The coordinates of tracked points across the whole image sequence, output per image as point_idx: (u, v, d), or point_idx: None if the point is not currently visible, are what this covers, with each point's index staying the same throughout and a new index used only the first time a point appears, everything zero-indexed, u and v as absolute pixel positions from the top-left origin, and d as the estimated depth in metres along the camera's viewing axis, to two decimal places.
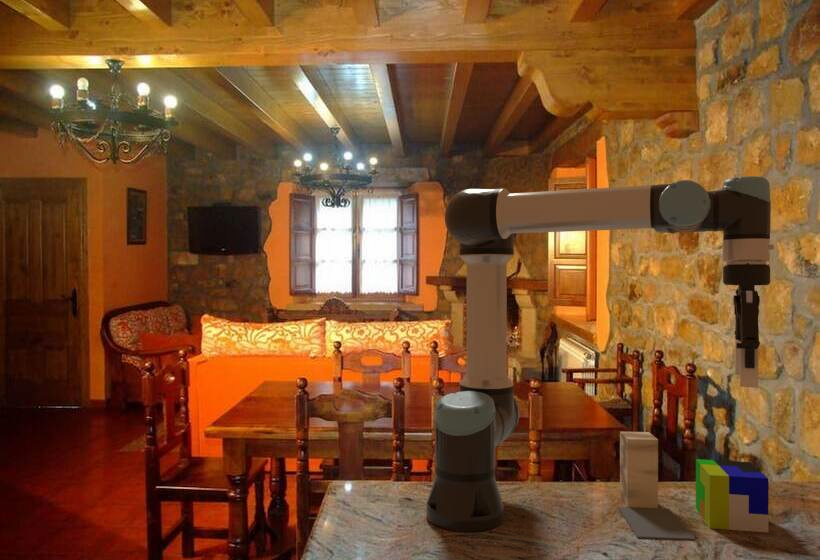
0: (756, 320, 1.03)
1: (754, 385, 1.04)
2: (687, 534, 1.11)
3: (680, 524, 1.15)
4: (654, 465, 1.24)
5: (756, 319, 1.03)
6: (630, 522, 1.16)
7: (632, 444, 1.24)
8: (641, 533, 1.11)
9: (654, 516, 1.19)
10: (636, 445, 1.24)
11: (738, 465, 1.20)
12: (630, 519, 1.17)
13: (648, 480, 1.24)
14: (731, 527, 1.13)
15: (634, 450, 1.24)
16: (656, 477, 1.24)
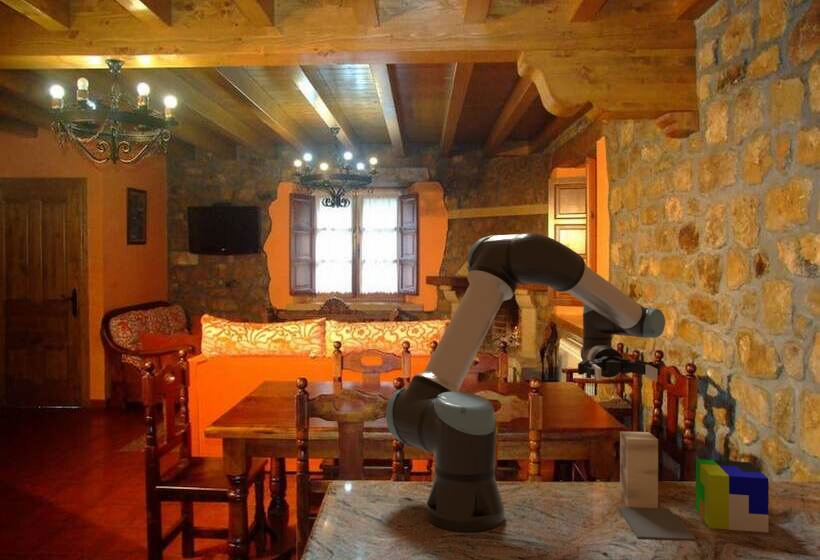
0: None
1: (657, 378, 1.35)
2: (687, 534, 1.11)
3: (680, 524, 1.15)
4: (654, 465, 1.24)
5: None
6: (630, 522, 1.16)
7: (632, 444, 1.24)
8: (641, 533, 1.11)
9: (654, 516, 1.19)
10: (636, 445, 1.24)
11: (738, 465, 1.20)
12: (630, 519, 1.17)
13: (648, 480, 1.24)
14: (731, 527, 1.13)
15: (634, 450, 1.24)
16: (656, 477, 1.24)
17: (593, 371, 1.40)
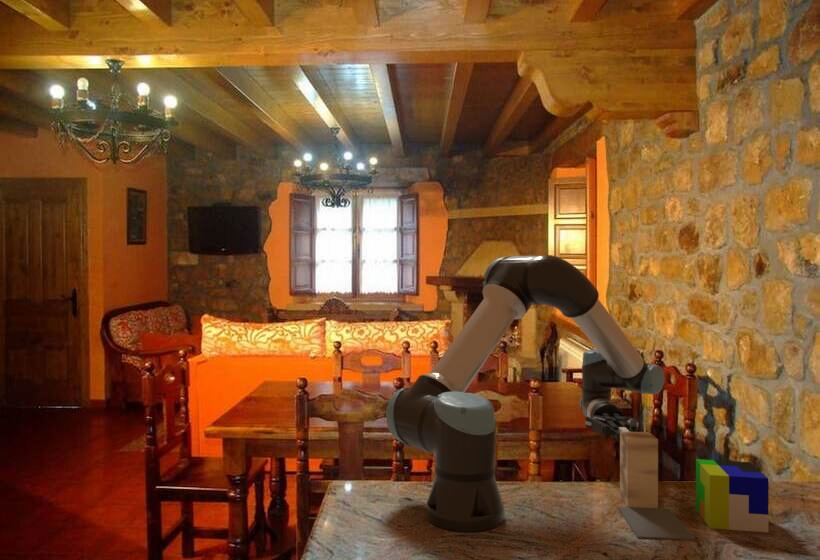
0: None
1: None
2: (687, 534, 1.11)
3: (680, 524, 1.15)
4: (654, 465, 1.24)
5: None
6: (630, 522, 1.16)
7: (632, 444, 1.24)
8: (641, 533, 1.11)
9: (654, 516, 1.19)
10: (636, 445, 1.24)
11: (738, 465, 1.20)
12: (630, 519, 1.17)
13: (648, 480, 1.24)
14: (731, 527, 1.13)
15: (634, 450, 1.24)
16: (656, 477, 1.24)
17: None
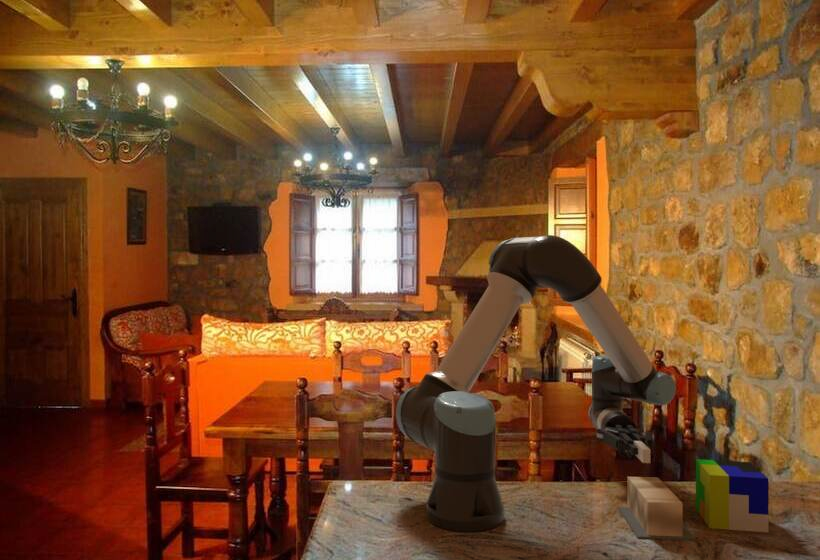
0: None
1: (649, 460, 1.23)
2: (687, 534, 1.11)
3: None
4: None
5: None
6: (630, 522, 1.16)
7: None
8: (641, 533, 1.11)
9: None
10: None
11: (738, 465, 1.20)
12: (630, 519, 1.17)
13: None
14: (731, 527, 1.13)
15: None
16: None
17: (636, 450, 1.26)
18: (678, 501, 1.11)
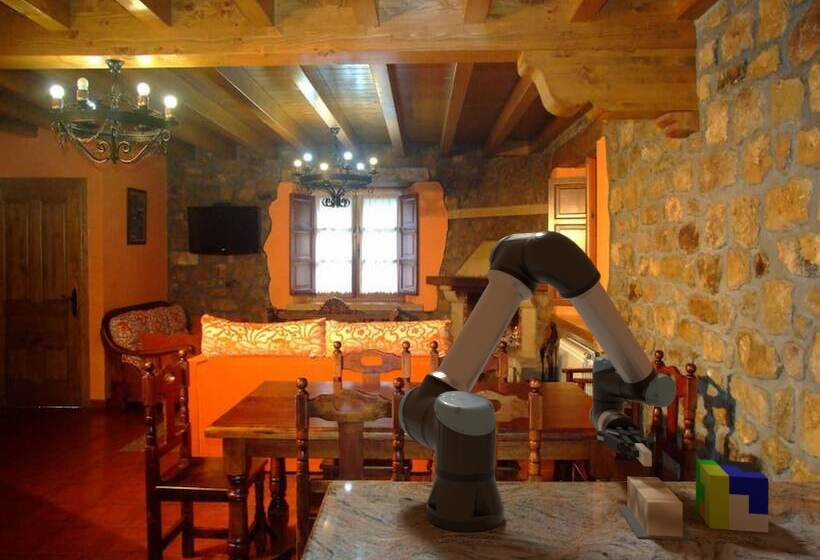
0: None
1: (651, 463, 1.20)
2: (687, 534, 1.11)
3: None
4: None
5: None
6: (630, 522, 1.16)
7: None
8: (641, 533, 1.11)
9: None
10: None
11: (738, 465, 1.20)
12: (630, 519, 1.17)
13: None
14: (731, 527, 1.13)
15: None
16: None
17: (637, 453, 1.24)
18: (678, 501, 1.11)
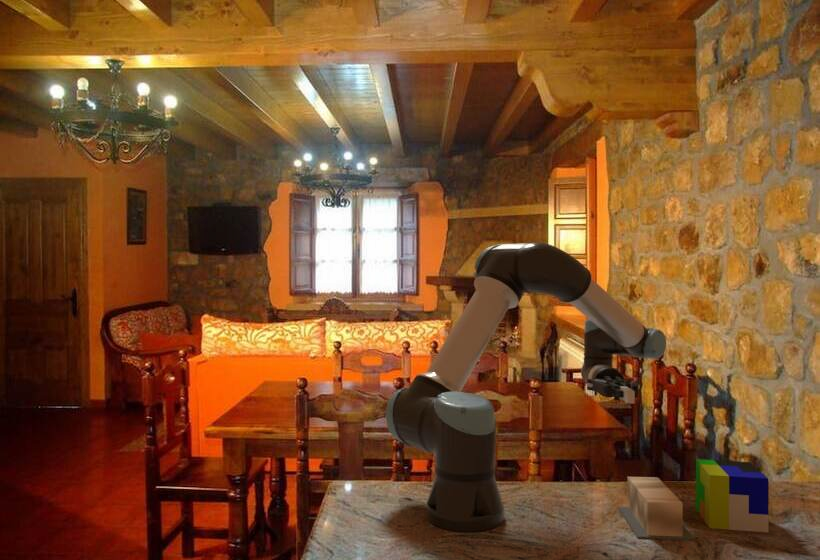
0: None
1: None
2: (687, 534, 1.11)
3: None
4: None
5: None
6: (630, 522, 1.16)
7: None
8: (641, 533, 1.11)
9: None
10: None
11: (738, 465, 1.20)
12: (630, 519, 1.17)
13: None
14: (731, 527, 1.13)
15: None
16: None
17: (622, 393, 1.38)
18: (678, 501, 1.11)
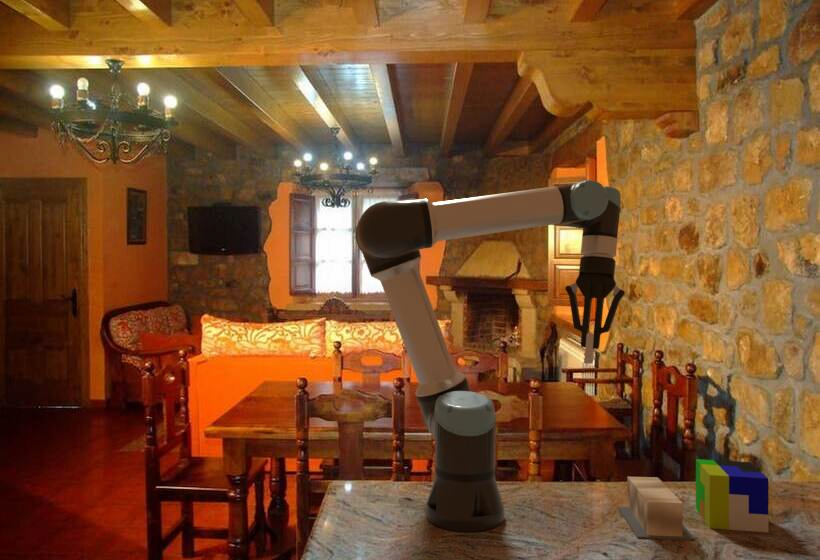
0: None
1: (592, 361, 1.35)
2: (687, 534, 1.11)
3: None
4: None
5: None
6: (630, 522, 1.16)
7: None
8: (641, 533, 1.11)
9: None
10: None
11: (738, 465, 1.20)
12: (630, 519, 1.17)
13: None
14: (731, 527, 1.13)
15: None
16: None
17: (585, 347, 1.35)
18: (678, 501, 1.11)
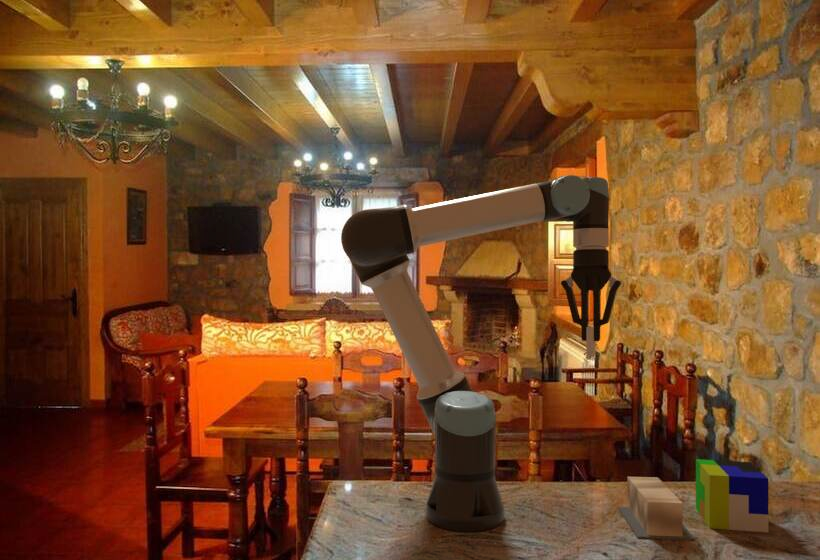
0: None
1: (594, 354, 1.35)
2: (687, 534, 1.11)
3: None
4: None
5: (613, 303, 1.34)
6: (630, 522, 1.16)
7: None
8: (641, 533, 1.11)
9: None
10: None
11: (738, 464, 1.20)
12: (630, 519, 1.17)
13: None
14: (731, 527, 1.13)
15: None
16: None
17: (586, 340, 1.35)
18: (678, 501, 1.11)
